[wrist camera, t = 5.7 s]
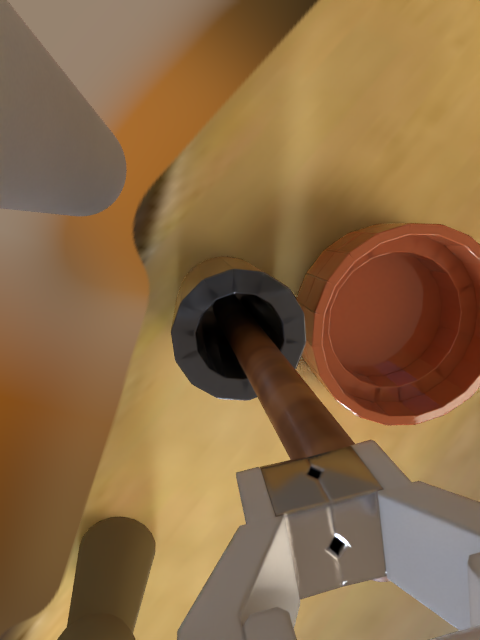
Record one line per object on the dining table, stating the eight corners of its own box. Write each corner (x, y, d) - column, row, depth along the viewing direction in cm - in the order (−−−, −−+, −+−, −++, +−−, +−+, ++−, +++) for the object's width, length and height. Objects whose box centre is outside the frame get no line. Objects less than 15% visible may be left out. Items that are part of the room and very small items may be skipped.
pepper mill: (168, 532, 34) (160, 670, 24) (134, 590, 35) (112, 748, 24) (99, 506, 33) (58, 638, 22) (66, 566, 34) (10, 721, 23)
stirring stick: (207, 314, 30) (343, 599, 9) (216, 288, 29) (380, 527, 9) (233, 321, 30) (415, 605, 10) (242, 296, 30) (453, 537, 10)
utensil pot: (164, 332, 31) (154, 380, 21) (194, 242, 30) (198, 248, 20) (250, 359, 32) (278, 416, 22) (282, 273, 31) (326, 293, 21)
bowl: (266, 367, 32) (282, 394, 27) (331, 197, 30) (361, 191, 25) (415, 413, 35) (456, 446, 29) (485, 259, 33) (543, 265, 27)
